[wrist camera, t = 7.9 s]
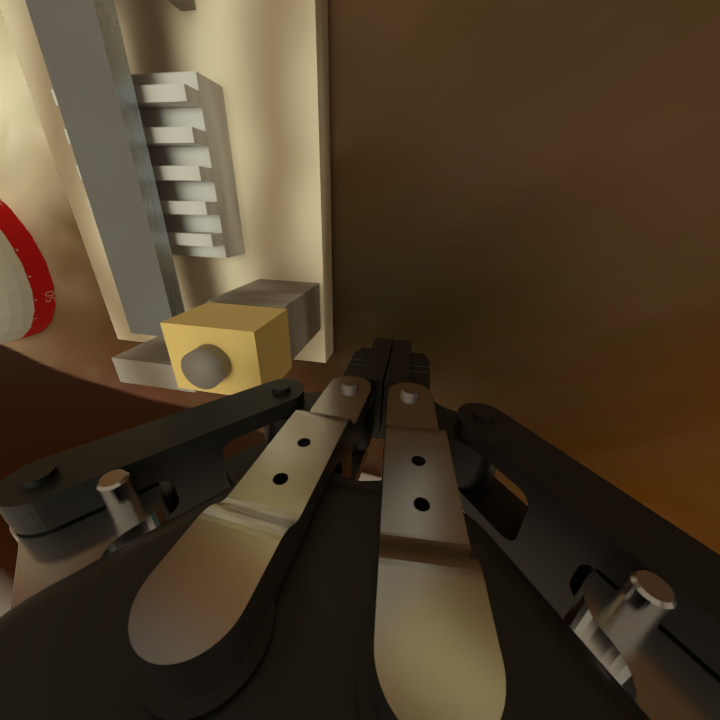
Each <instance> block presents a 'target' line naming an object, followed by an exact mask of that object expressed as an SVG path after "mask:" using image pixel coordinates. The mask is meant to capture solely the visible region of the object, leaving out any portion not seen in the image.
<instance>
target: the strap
mask: <svg viewBox="0 0 720 720" xmlns="http://www.w3.org/2000/svg"><path fill="white" fill-rule="evenodd" d="M25 1H26V4H27V8H28V11H29V14H30V17H31V20H32V23H33V26H34V30H35V33H36V36H37V39H38V42H39V45H40V48H41V52H42V55H43V58H44V61H45V64H46V67H47V70H48V74H49V77H50V80H51V83H52V86H53V89H54V93H55V96H56V99H57V102H58V105H59V108H60V111H61V115H62V118H63V121H64V124H65V127H66V130H67V133H68V137H69V140H70V143H71V146H72V149H73V152H74V155H75V159H76V162H77V165H78V168H79V171H80V174H81V178H82V181H83V184H84V187H85V190H86V193H87V196H88V200H89V203H90V206H91V209H92V212H93V215H94V218H95V222H96V225H97V228H98V231H99V234H100V237H101V240H102V244H103V247H104V250H105V253H106V256H107V259H108V262H109V266H110V269H111V272H112V275H113V278H114V281H115V285H116V288H117V291H118V294H119V297H120V300H121V303H122V307H123V310H124V313H125V316H126V319H127V322H128V325H129V329H130V332H131V333H134V334H143V335H152V336H161V337H164V335H163V332H162V328H161V325H160V322H162V321H165V320H167V319H169V318H172V317H174V316H177V315H179V314H181V313H184V312H185V309H184V304H183V300H182V296H181V291H180V287H179V283H178V278H177V274H176V269H175V265H174V261H173V256H172V252H171V248H170V243H169V239H168V234H167V230H166V226H165V221H164V217H163V212H162V208H161V204H160V199H159V195H158V191H157V186H156V182H155V177H154V173H153V169H152V164H151V160H150V156H149V151H148V147H147V142H146V138H145V134H144V129H143V125H142V120H141V116H140V112H139V107H138V103H137V99H136V94H135V90H134V85H133V81H132V77H131V72H130V68H129V64H128V59H127V55H126V50H125V46H124V42H123V37H122V33H121V29H120V24H119V20H118V15H117V11H116V7H115V2H114V0H25Z"/></svg>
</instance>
